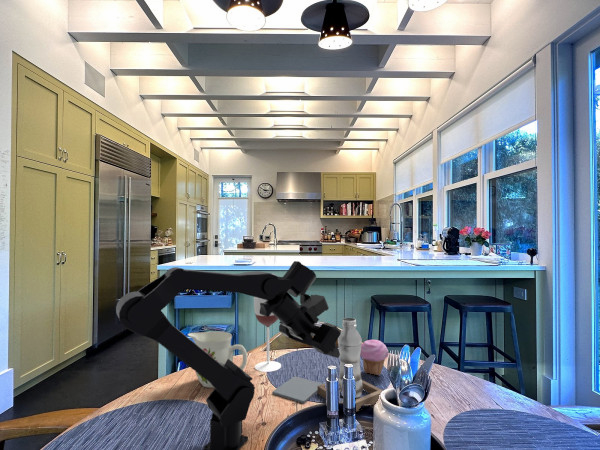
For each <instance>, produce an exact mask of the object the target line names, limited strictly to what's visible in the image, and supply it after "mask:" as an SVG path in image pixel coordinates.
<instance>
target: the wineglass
mask: <svg viewBox="0 0 600 450" xmlns="http://www.w3.org/2000/svg"><path fill="white" fill-rule="evenodd" d="M264 302H266V300H265V299H261V298H257V297H253V309H254V314H255V318H256V320H257V321H258V322H259V323H260V324H261V325H263V326H265V327H266V361H261V362H259V363H256V364H255V365H254V369H255V370H257V371H259V372H264V373H265V372H266V373H268V372H270V373H271V372H276V371H277V370H279V369H281V368H282V364H281V363H280V362H278V361H274V360H270V326H273V324H275V323H276V322H277V321H278V320H279V319H278V318H277V317H276V316H275V315H274V314H273V313H271V314H270V315H269V317H266V316H264V315H261V314H260V313H259V312H260V303H264Z"/></svg>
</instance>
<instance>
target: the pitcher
mask: <svg viewBox="0 0 600 450" xmlns="http://www.w3.org/2000/svg"><path fill="white" fill-rule="evenodd" d="M187 337H188V338H189V337H190V338H191V339H193V340H192V341H193V342H194V343H195V344H196V345H198V346H199V347H200V348H201V349H203V350H204V351H205V352H206V353H207V354H209V355H210V356H211V357H212V358H214V359H215V360H216V361H217V362H219V363H222V364H225V363H226V361H227V359H229V360H231V361H232V362H233V361H234V352H233V351H235V350H239V351H240V352H241V355H242V362H241V365H240V366H238V367H239V368H241V369H242V370H243V371H244V369H245V367H246V366H247V363H248V353H247V350H246V348H245V347H244V346H243V345H242V344H234V345H232V344H231V342H232V337H233V334H231V333H230V332H227V331H202V332H189V333H187ZM233 363H234V362H233ZM195 374H196V377H197V379H198V381H199V382H200V384H201V386H202V387H205V388H210V389H211V388H214V387H213V386H212V385H211V383H210V382H209V381H207V380H206V379H205V378H204V377H202V376H201V375H200V374H198V373H197V372H196V371H195Z"/></svg>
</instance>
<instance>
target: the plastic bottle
mask: <svg viewBox="0 0 600 450" xmlns="http://www.w3.org/2000/svg"><path fill="white" fill-rule="evenodd" d="M341 326H342V329H341V330H340V331H341V334H340V336H339V338H338V339H337V347H338V349H339V352H340V356H339V375H338V377H339V378H338V379H339V386H340V391H341V392H342V378H343V375H344V365H345V364H352V365H353V374H354V378H355V382H356V385H355V386H356V399H359V398H361V396H362V394H363V384H362V380H363V379H362V375H361V374H362V372H361V356H360V353H361V344H363V342H362V341H363V339H362V337H361V335H360V332H359V331H358V330H357V319H356V318H355V317H344V318H342V324H341ZM356 399H355V400H356Z"/></svg>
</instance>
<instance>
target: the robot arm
mask: <svg viewBox="0 0 600 450" xmlns="http://www.w3.org/2000/svg"><path fill="white" fill-rule="evenodd" d="M316 279H317V274H316V273H315V271H314V270H312V269H310V268H309V267H307V266H306V265H304V264H303V263H301V261H298V260H297V261H296V260H294V261H293V262H292V263H291V265H290V267H289V268H288V270H287V271H286V272H285V274H284V275H283V276H278V275H276V274H275V273H272V272H266V271H259V270H258V271H257V270H256V271H255V270H254V271H247V272H246V271H245V272H241V273H228V272H226V273H225V272H218V271H217V272H216V271H206V270H205V271H204V270H198V269H197V270H195V269H194V270H193V269H186V268H185V269H184V268H182V267H178V266H177V267H171V268H169V269H168V270H166V271H165V272H164V273H163V274H162V275H160V276H159V277H157V278H156V279H154V280H152V281H151V282H149V283H148V284H146V285H144V286H143V287H141V288H140V289H139V290H136V291H131V292H130V291H129V292H128V293H126V294H124V295H123V296H121V298H120V299H119V300H118V301H117V304H116V306H115V313H116V315H117V317H118V319H119V322H120V324H121V326H123V328H125V329H126V330H128V331H130V332H133V333H135V334H136V335H139V336H140V337H143V338H145V339H149V340H151V341H154V342H156V343H158V344H159V345H161V346H162V347H163V348H165V349H166V350H168V351H169V352H170V353H171V354H172V355H174V356H175V357H176V358H177V359H179V360H180V361H181V362H183V363H184V364H185V365H187V366H188V367H190V368H191V369H192V370H194V371H195V373H196V372H197V373H198V374H200V375H201V376H202V377H204V378H205V379H206V380H207V381H209V382H210V383H211V385H212V386H213V387H212V388H213V390H212V391H211V392H210V393H209V395H208V396H207V397H206V398H205V402H206V406H208V409H209V410H210V411H211V412H212V414H211V418H210V424H209V427H210V428H209V432H210V433H209V442H208V443H207V444H206V445H204V446H203V450H240V449H241V448H242V447H243V446H244V445H245V444H246V443H247V442H248V441H249V436H247V435H244V434H243V421H245V420H246V419H247V416H248V412H249V409H250V406H251V402H252V401H253V399H254V398H255V397H254V396H255V389H256V386H255V385H254V383H253V381H252V380H253V377H252V376H250V375H249V373H247V372H246V371H244V369H243V370H242V369H241V368H239V367H240V366H238V365H237V364H235V362H232V361H231V360H229V359H227V361H226V363H225V364H222V363H219V362H217V361H216V360H215V359H214V358H212V357H211V356H210V355H209V354H207V353H206V352H205V351H204V350H203V349H201V348H200V347H199V346H198V345H196V344H195V342H194V340H191V339H190V338H189V336H188V335H186V334H184V333H183V332H182V331H180V330H179V329H178V328H177V327H175V325H173V323H171V321H170V320H169V319H168V318H167V316H166V315H165V313H164V312H163V311H162V310H163V309H164V308H166V307H168V305H169V304H170V302H172V300H174V299H175V298H176V296H177V295H178V294H179V293H181V292H182V291H183V290H191V291H208V292H226V293H239V294H243V295H247V296H251V297H253V298H254V297H257V298H261V299H265V300H266V302H264V303H260V312H259V313H260V314H261V315H264V316H266V317H269V315H270V314H271V313H273V314H274V315H275V316H276V317H277V318H278V320H279V326H278V331H279V333H280V334H281V335H283V336H285V337H287V338H288V339H290V340H293V341H295V342H299V343H301V344H304V345H307V346H310V347H312V348H313V349H314V350H316V352H318V353H320V354H322V355H325V356H329V357H333V358H337V359H339V358H340V352H339V346H338V343H337V342H338V338H339V336H340V334H341V331H342V330H340V328H339V327H338V326H336V325H334V324H331V323H328V322H324V323H321V325H320V326H318V325H315V324H317V323H319V320H320V318H318V317H319V316H321V315H322V314H323V313H324V312H325V311H328V310H329V305H328V302H327V300H326V297H325V296H324V295H320V294H307V291H308V290H309V288H310V287H311V286H312V284H313V283H314V282H315V281H316ZM297 297H299V298H300V299H299V302H297V300H295V298H297ZM299 303H300V304H299Z"/></svg>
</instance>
